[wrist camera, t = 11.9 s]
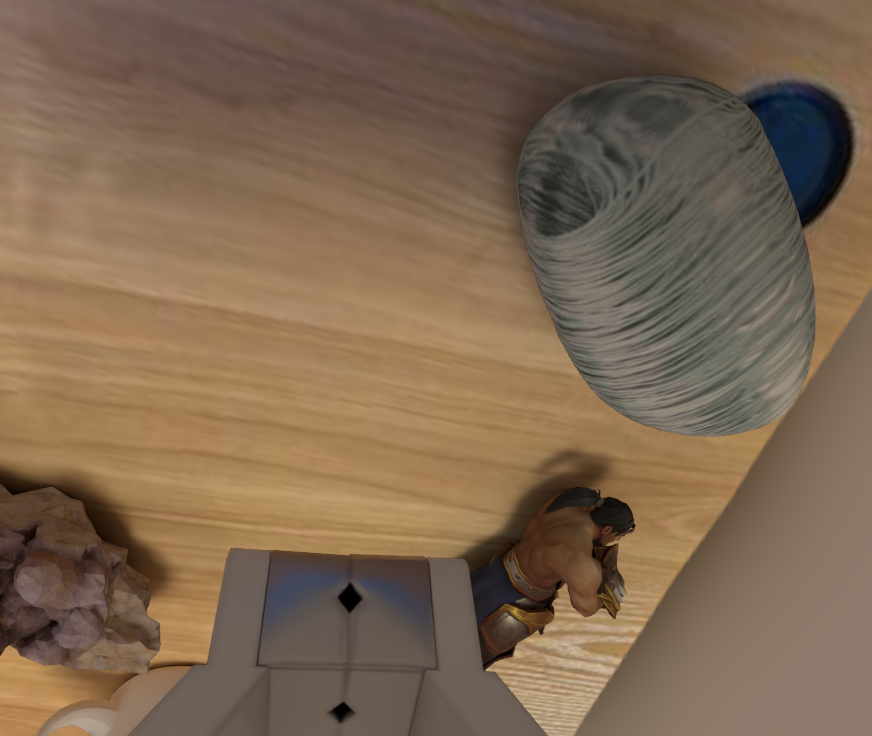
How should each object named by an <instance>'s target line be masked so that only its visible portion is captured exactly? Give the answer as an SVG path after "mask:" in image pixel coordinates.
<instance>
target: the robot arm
mask: <svg viewBox="0 0 872 736" xmlns="http://www.w3.org/2000/svg"><path fill="white" fill-rule="evenodd" d="M128 736H548V735H547V734H546V733H545V732H544V731H543V729H542V728H541V727H540V726H539V724H538V723H537V722H536V721H535V720H534V718H533V717H532V716H531V715H530V714H529V712H528V711H527V710H526V709H525V708H524V706H523V705H522V704H521V703H520V701H519V700H518V699H517V698H516V697H515V695H514V694H513V693H512V692H511V691H510V689H509V688H508V687H507V686H506V685H505V683H504V682H503V681H502V680H501V678H500V677H499V676H498V675H497V674H496V672H489V671H483V664H482V657H481V650H480V643H479V636H478V629H477V622H476V615H475V608H474V601H473V594H472V587H471V580H470V573H469V566H468V564H467V562H466V561H465V559H455V558H432V557H427V558H425V557H423V556H391V555H360V554H350V555H336V554H322V553H308V552H293V551H279V550H258V549H242V548H231V549H230V552H229V554H228V557H227V559H226V564H225V570H224V575H223V580H222V585H221V591H220V596H219V601H218V607H217V612H216V617H215V623H214V628H213V633H212V639H211V644H210V649H209V655H208V660H207V665H193V666H192V667H191V668H190V670H189V671H188V672H187V673H186V674H185V675H184V676H183V677H182V678H181V679H180V680H179V681H178V682H177V683H176V684H175V685H174V687H173V688H172V689H171V690H170V691H169V692H168V693H167V694H166V695H165V696H164V697H163V698H162V699H161V700H160V701H159V703H158V704H157V705H156V706H155V707H154V708H153V709H152V710H151V711H150V712H149V713H148V714H147V715H146V716H145V717H144V718H143V720H142V721H141V722H140V723H139V724H138V725H137V726H136V727H135V728H134V729H133V730H132V731H131V732H130V733H129V734H128Z"/></svg>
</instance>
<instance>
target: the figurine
mask: <svg viewBox="0 0 872 736" xmlns="http://www.w3.org/2000/svg"><path fill="white" fill-rule="evenodd" d="M581 486H584V485H581ZM590 487H591V486H590ZM593 489H594V488H593ZM598 490H599V489H598ZM591 505H595V506H596V507H595V508H594V509H593V510H592V511H588V510H586V507H588V506H591ZM631 527H632V528H633V529H630V528H631ZM634 527H635V524H634V518H633V514H632V511H631V509H630V508H629V506H628V505H627V504H626V503H623V502H621V501H620V500H618V499H616V498H612V497H607V498H604V499H602V498H601V497H600V490H599V494H598V493H597V492H596V490H595V489H594V490H591V489H589V488H583V487H576V488H574V489H571V490H566V491H562V492H560V493H558V494H556V495H555V496H553V497H552V498H551V499H550V500H549V501H548V502H547V503H546V504H545V505H544V506H543V507H542V508H541V509H540V510H539V511H538V512H537V513H535V514H534V515H533V516H532V517H531V519H530V520H529V522H528V523H527V525H526V526H525V528H524V530H523V536H522V540H521V541H520V542H519V543H518V544H517V545H514V544H511V543H508V544H507V545H505V546H504V547H503V548H502V549H501V550H500V551H499V552H498V553H497V554H496V555H495V556H494V557H493V558H492V559H491V560H490V563H489V564H488V565H487V566H486V567H483V568H481V569H478V570H476V571H473V572H471V573H470V580H471V587H472V594H473V601H474V608H475V615H476V622H477V629H478V636H479V643H480V650H481V657H482V664H483V671H485V670H486V669H487V668H488V667H489V666H491V665H492V664H493V663H494V662H496V661H499V660H501V659H504V658H508V657H513V654H514V650H515V647H516V645H517V643H518V642H520V641H522V640H524V639H525V638H527V637H529V636H530V635H532V634H533V633H535V632H536V631H537V630H539V633H540V635H542V634H543V630H544V627H545V625H546V624H548V623H550V622H551V621H552V620H553V618H554V615H555V614H554V607H553V606H551V604H552V602H553V601H554V600H555V599H557V598H558V591H557V590H558V589H560V588H562V587H563V585H564V584H565V583H566V584H567V585H568V592H569V595H570V601H571V604H572V606H573V608H575V609H576V610H577V611H578V612H579V613H580V614H581V615H583V616H584V617H588V616H592V615H593V614H595V613H596V612H597V611H598V610H599V609H600V608H603V609H607V611H608V612H609V614H610V615H611V616H612V617H613V619H616V614H617V612H618V611H620V610H621V609H620V603H621V602H623V599H622V596H626V595H627V593H626V590H625V587H624V580H623V578H622V576H621V574H620V573H619V571H618V569H617V553H618V544H614V545H612V546H606V545H607V544H608V543H610V542H613V541H615V540H620V538H621V537H622V536H625V534H628V533H627V532H632V531H633V532H634ZM629 529H630V530H629Z"/></svg>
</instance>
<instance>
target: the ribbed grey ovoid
mask: <svg viewBox="0 0 872 736" xmlns="http://www.w3.org/2000/svg"><path fill="white" fill-rule="evenodd" d="M516 187H517V196H518V204H519V212H520V220H521V227H522V233H523V238H524V241H525V244H526V247H527V251H528V254H529V258H530V261H531V263H532V266H533V270H534V273H535V277H536V280H537V283H538V287H539V290H540V292H541V295H542V297H543V300H544V302H545V304H546V307H547V309H548V311H549V314H550V316H551V318H552V321H553V323H554V326H555V328H556V331H557V333H558V336H559V339H560V340H561V342H562V344H563V346H564V348H565V349H566V351H567V353H568V355H569V356H570V358H571V360H572V362H573V364H574V365H575V367H576V368H577V370H578V371H579V373H580V374H581V376H582V377H583V379H584V380H585V381H586V382H587V384H588V385H589V387H590V388H591V389H592V390H593V391H594V392H595V394H596V395H597V396H598V397H599V398H600V399H601V400H603V401H604V402H605V403H606V404H607V405H608V406H610V407H611V408H613V409H614V410H616V411H617V412H619V413H620V414H622V415H624V416H625V417H627V418H629V419H630V420H633V421H635V422H637V423H640V424H642V425H646V426H649V427H652V428H655V429H658V430H661V431H665V432H670V433H676V434H680V435H688V436H704V437H716V436H725V435H733V434H738V433H742V432H746V431H750V430H753V429H757V428H760V427H763V426H765V425H767V424H770V423H772V422H774V421H776V420H777V419H779V418H780V417H781V416H782V415H784V414H785V413H786V412H787V411H788V409H789V408H790V407H791V406H792V404H793V402H794V400H795V398H796V396H797V395H798V393H799V392H800V391H801V390H802V387H803V382H804V380H805V378H806V375H807V373H808V369H809V365H810V360H811V355H812V350H813V346H814V341H815V293H814V286H813V278H812V272H811V265H810V259H809V252H808V248H807V244H806V241H805V237H804V234H803V230H802V226H801V222H800V219H799V215H798V211H797V208H796V205H795V202H794V200H793V197H792V194H791V192H790V189H789V186H788V184H787V181H786V179H785V176H784V174H783V171H782V169H781V167H780V164H779V162H778V159H777V157H776V155H775V152H774V150H773V148H772V146H771V144H770V142H769V140H768V139H767V137H766V135H765V132H764V130H763V127H762V125H761V123H760V120H759V119H758V118H757V117H756V116H755V114H754V113H753V112H752V111H751V110H750V109H749V108H748V107H747V105H746V104H744V103H743V102H742V101H741V100H739V99H738V98H737V97H736V96H734V95H733V94H732V93H730V92H729V91H727V90H725V89H723V88H721V87H719V86H717V85H715V84H713V83H710V82H706V81H703V80H699V79H696V78H688V77H679V76H670V75H661V74H658V75H647V76H634V77H626V78H622V79H617V80H610V81H605V82H601V83H598V84H595V85H591V86H588V87H586V88H583V89H581V90H579V91H577V92H574V93H572V94H571V95H569V96H568V97H566V98H565V99H563V100H562V101H560V102H558V103H557V104H556V105H555V106H554V107H553V108H552V109H551V110H549V111H548V112H547V113H546V114H545V115H544V116H543V117H542V118H541V119H540V120H539V121H538V123H537V124H536V125H535V126H534V128H533V129H532V130H531V132H530V133H529V134H528V136H527V138H526V140H525V143H524V145H523V147H522V151H521V155H520V160H519V165H518V170H517V175H516Z"/></svg>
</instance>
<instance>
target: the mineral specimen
mask: <svg viewBox="0 0 872 736" xmlns="http://www.w3.org/2000/svg"><path fill="white" fill-rule="evenodd" d="M127 551H128V549H125V548H122V547H119V546H117V545H114V544H111V543H108V542H105V541H103V540H101V539H100V537H99V536H97V535H96V532H95V529H94V527H93V524H92V522H91V521H90V519H89V518H88V517H87V514H86V511H85V508H84V504H83V502H81V501H79V500H76V499H73V498H70V497H68V496H66V495H65V494H63V493H61V492H60V491H58V490H57V489H55V488H54V487H48V488H43V489H38V490H34V491H29V492H25V493H21V494H16V495H11V494H10V493H9V492H8V491H7V489H6V488H5V487H4V486H3V485H2V484H0V656H1V654H2V653H3V651H4V650H5V648H6V647H7V646H9V645H10V646H12V647H14V648H15V649H17V651H18V652H19V654H20V656H23V657H25V658H28V659H30V660H33V661H35V662H37V663H40V664H42V665H54V664H61V665H64V666H67V667H71V668H74V669H88V670H108V671H124V672H132V673H140V674H147V675H148V670H149V663H150V660H151V659H153V657H154V656H155V655H156V654H157V653H158V652H159V650H160V645H161V643H160V623H158V622H157V621H155V620H153V619H152V618H150V617H149V616H147V608H148V606H149V603H150V597H151V593H150V591H149V589H148V586H147V584H148V583H149V582H150V580H148V579H147V578H146V577H145V576H143V575H142V574H141V573H140V572H139V571H135V570H134V569H132V568H131V567H130V566H129V565H127V564H126V558H127Z"/></svg>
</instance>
